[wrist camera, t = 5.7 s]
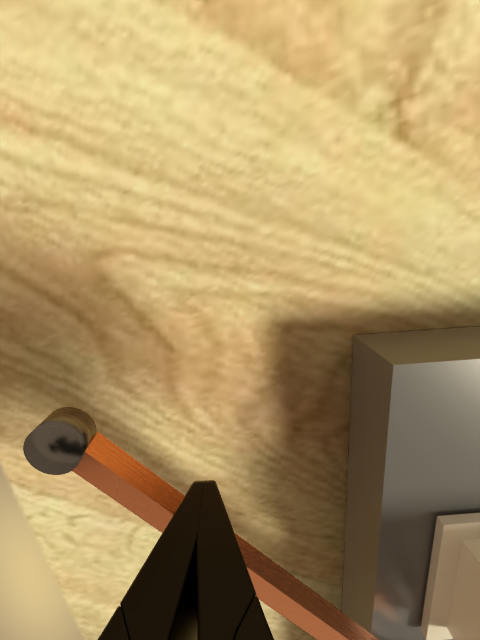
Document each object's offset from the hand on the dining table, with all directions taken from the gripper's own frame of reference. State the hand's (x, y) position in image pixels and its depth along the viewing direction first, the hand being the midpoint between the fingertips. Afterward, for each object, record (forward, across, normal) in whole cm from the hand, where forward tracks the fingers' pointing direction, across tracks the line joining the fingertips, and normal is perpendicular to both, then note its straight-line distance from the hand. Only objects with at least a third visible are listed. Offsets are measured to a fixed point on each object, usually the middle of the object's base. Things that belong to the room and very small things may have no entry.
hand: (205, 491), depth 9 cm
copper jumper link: (0, -2, +4) cm, 5 cm away
